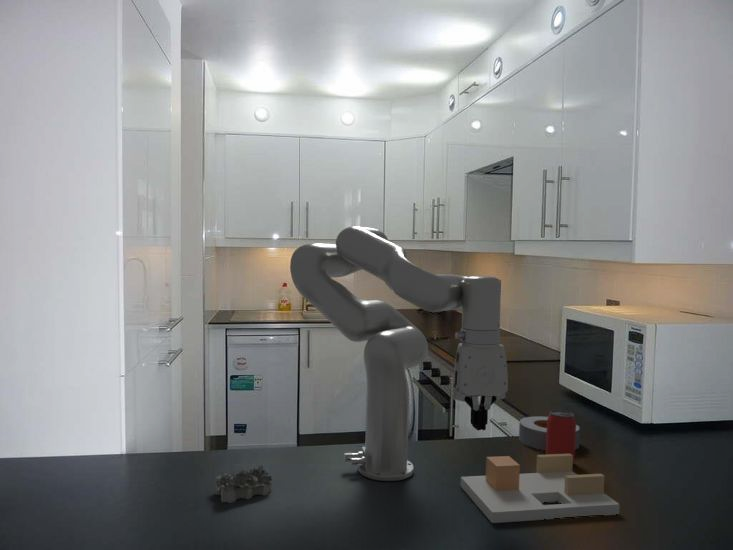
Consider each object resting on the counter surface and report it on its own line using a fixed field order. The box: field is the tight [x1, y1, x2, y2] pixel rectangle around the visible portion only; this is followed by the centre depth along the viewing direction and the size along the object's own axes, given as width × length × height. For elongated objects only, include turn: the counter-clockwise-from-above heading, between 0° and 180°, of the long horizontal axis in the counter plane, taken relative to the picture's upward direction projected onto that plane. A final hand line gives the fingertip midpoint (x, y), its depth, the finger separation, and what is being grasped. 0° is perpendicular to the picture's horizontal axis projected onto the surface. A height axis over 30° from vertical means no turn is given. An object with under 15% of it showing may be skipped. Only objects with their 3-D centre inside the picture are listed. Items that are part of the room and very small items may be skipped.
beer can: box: [545, 409, 577, 465], centre depth 129 cm, size 7×7×12 cm
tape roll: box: [518, 416, 581, 452], centre depth 144 cm, size 15×15×5 cm
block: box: [485, 455, 521, 491], centre depth 110 cm, size 5×5×5 cm
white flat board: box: [460, 454, 620, 524], centre depth 109 cm, size 26×17×6 cm, turn 101°
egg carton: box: [214, 465, 275, 504], centre depth 108 cm, size 11×8×4 cm
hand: (478, 428), depth 108 cm, fingers closed
